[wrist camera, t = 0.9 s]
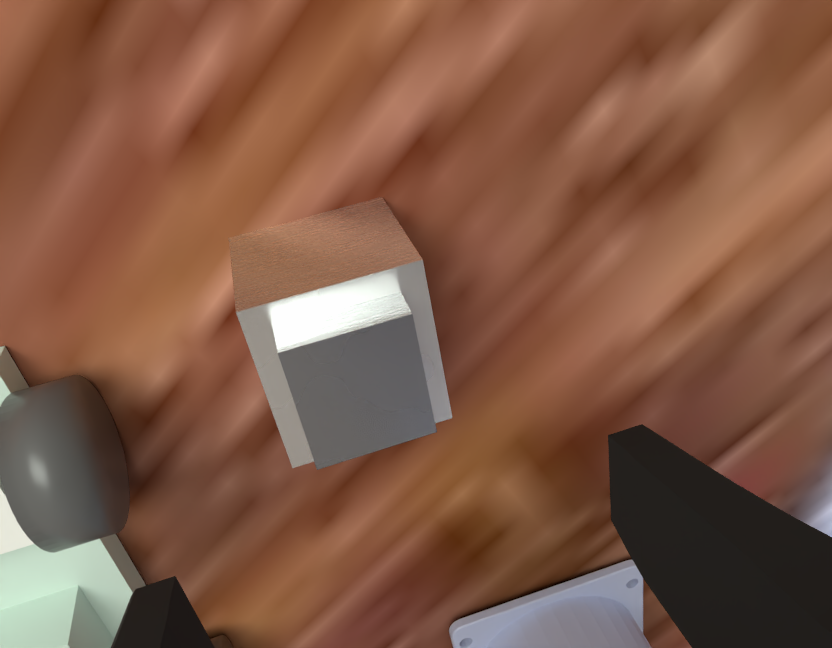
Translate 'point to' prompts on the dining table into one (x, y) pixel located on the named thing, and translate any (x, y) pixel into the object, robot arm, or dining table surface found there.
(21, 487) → the chassis
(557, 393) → the dining table surface
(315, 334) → the grey boxy piece
